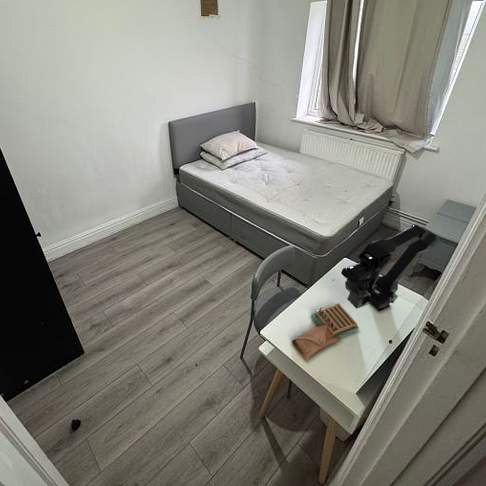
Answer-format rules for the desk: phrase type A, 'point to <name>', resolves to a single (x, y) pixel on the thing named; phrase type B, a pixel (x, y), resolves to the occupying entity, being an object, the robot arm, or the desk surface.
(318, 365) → the desk surface
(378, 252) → the robot arm
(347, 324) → the wooden peg rack
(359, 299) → the black box
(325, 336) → the sunglasses case
